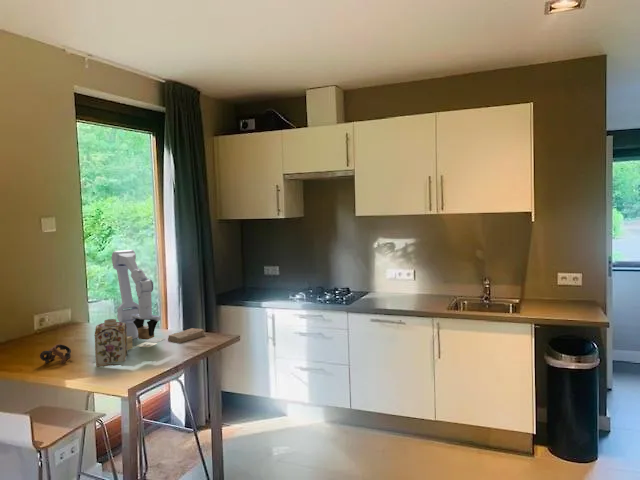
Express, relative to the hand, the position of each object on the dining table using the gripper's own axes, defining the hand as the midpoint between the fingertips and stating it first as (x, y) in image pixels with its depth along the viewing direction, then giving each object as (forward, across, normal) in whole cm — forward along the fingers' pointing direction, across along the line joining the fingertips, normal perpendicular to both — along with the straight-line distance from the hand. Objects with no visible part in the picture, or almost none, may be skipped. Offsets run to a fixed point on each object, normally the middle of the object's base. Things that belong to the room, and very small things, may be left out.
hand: (146, 335), depth 238 cm
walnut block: (+1, 0, 0) cm, 1 cm away
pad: (+5, -1, +7) cm, 9 cm away
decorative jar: (+6, -1, -22) cm, 23 cm away
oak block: (+4, -6, -8) cm, 11 cm away
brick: (+6, +12, +15) cm, 20 cm away
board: (+6, -2, -1) cm, 6 cm away
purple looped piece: (+6, -24, -29) cm, 38 cm away
